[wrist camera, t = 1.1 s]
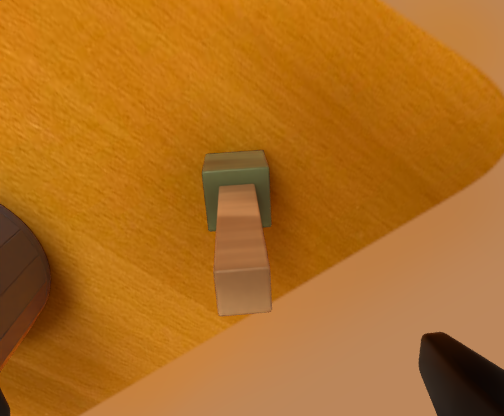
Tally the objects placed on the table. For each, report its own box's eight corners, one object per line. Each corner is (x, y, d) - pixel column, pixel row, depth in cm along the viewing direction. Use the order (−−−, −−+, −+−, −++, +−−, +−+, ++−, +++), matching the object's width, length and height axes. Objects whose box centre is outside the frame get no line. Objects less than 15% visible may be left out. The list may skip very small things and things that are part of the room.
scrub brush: (265, 203, 21) (296, 329, 12) (211, 207, 21) (197, 338, 11) (263, 149, 19) (294, 243, 10) (205, 153, 19) (184, 252, 10)
